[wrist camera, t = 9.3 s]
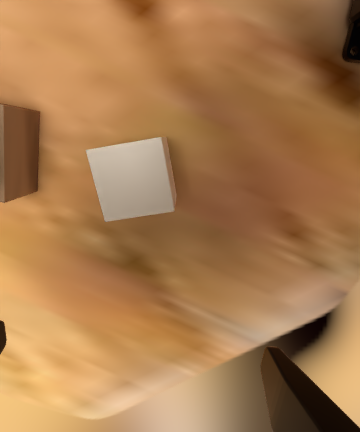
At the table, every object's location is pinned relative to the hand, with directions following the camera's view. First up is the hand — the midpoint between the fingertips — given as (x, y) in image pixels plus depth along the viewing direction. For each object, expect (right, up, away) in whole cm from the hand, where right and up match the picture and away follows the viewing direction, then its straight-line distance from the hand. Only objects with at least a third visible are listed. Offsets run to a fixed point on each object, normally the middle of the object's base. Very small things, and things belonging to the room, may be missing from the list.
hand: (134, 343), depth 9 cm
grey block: (-1, +8, +11) cm, 13 cm away
